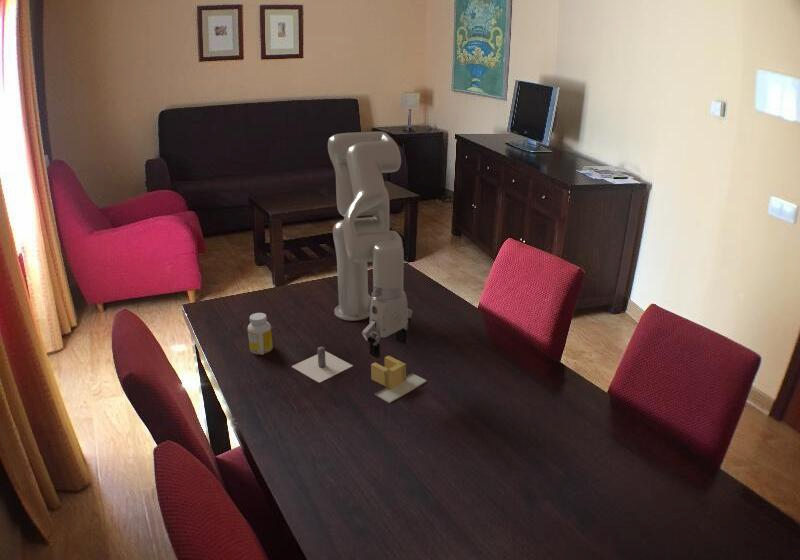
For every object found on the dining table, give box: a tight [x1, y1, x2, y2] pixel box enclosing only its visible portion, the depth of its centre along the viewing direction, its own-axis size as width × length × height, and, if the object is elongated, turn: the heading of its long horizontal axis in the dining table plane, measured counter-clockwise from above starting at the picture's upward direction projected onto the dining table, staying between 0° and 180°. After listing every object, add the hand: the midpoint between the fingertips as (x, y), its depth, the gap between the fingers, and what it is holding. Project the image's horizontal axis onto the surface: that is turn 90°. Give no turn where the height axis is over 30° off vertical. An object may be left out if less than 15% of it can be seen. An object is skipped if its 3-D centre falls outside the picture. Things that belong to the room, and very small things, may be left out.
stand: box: [291, 346, 354, 383], centre depth 175 cm, size 12×12×6 cm
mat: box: [373, 372, 427, 404], centre depth 170 cm, size 14×14×1 cm
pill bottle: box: [247, 312, 274, 356], centre depth 183 cm, size 6×6×12 cm
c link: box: [370, 355, 407, 390], centre depth 170 cm, size 6×6×5 cm
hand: (388, 348), depth 168 cm, fingers open, 9 cm apart
